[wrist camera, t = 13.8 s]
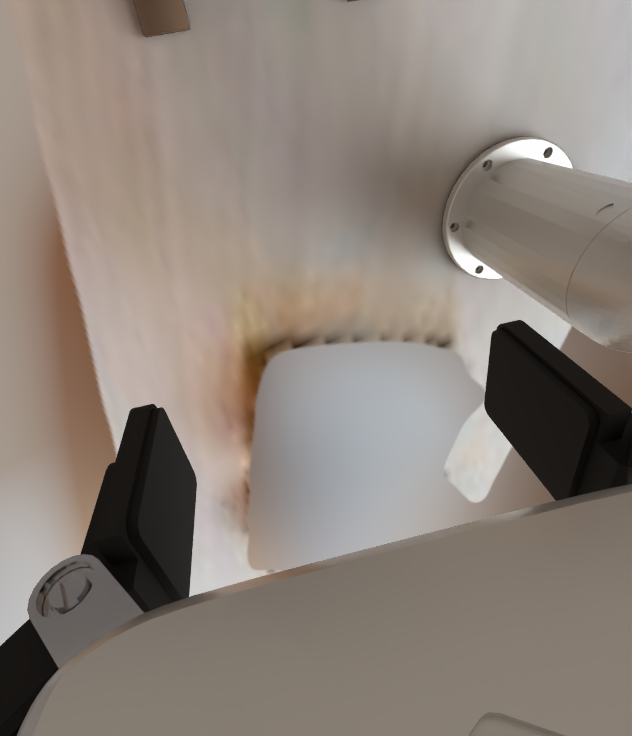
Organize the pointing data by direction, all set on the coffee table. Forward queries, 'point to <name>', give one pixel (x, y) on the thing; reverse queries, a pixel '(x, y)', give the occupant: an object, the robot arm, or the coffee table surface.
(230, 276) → the coffee table surface
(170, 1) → the screen
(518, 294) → the coffee table surface
